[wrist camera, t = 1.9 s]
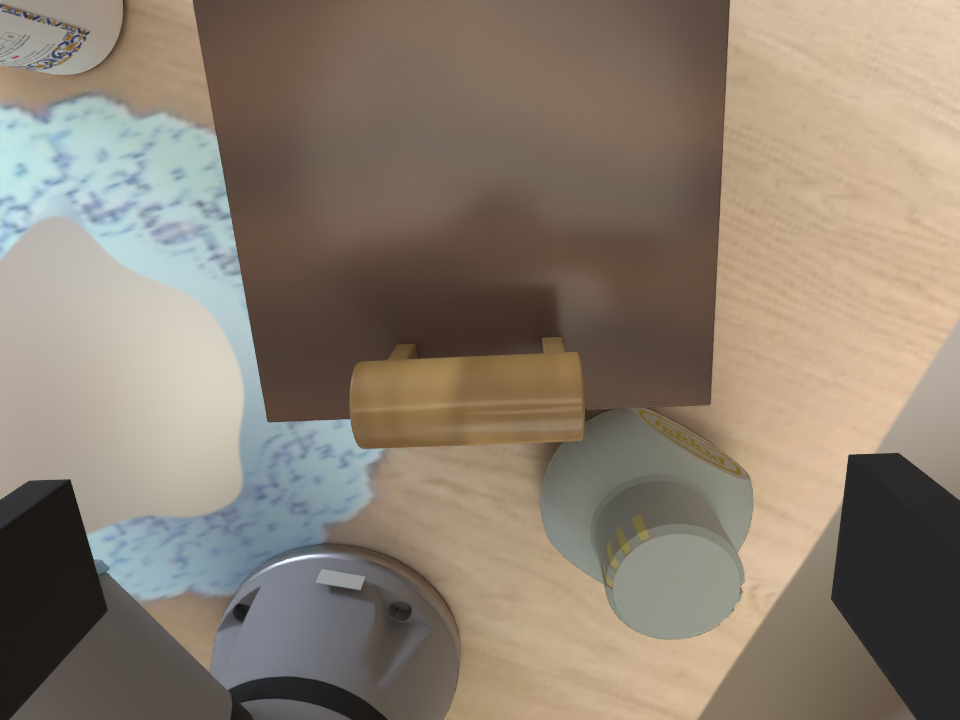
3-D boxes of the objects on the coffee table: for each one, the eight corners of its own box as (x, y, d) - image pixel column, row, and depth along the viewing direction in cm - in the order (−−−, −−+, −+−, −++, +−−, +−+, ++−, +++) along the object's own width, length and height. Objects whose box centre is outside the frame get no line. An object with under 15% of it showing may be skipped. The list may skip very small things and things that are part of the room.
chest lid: (704, 397, 23) (779, 492, 16) (275, 414, 24) (185, 509, 17) (729, -161, 18) (852, -345, 11) (184, -107, 19) (11, -245, 12)
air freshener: (515, 487, 37) (515, 601, 27) (591, 371, 35) (620, 451, 25) (672, 570, 38) (724, 707, 29) (757, 464, 36) (844, 574, 26)
